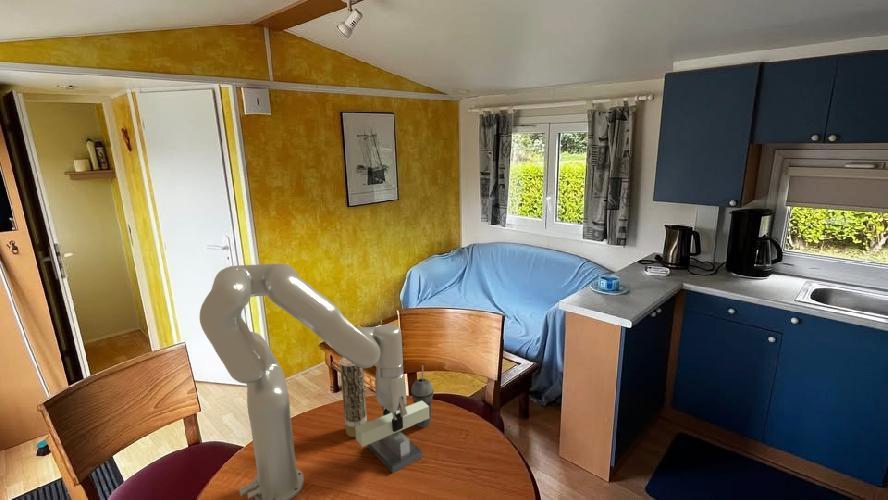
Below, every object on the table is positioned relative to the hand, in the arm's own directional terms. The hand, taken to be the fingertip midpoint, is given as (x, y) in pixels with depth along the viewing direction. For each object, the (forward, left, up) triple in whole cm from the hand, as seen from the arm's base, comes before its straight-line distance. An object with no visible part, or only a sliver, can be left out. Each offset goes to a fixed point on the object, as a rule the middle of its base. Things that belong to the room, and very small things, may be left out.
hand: (393, 425), depth 127 cm
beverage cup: (+15, +6, -9) cm, 18 cm away
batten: (0, 0, -1) cm, 1 cm away
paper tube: (-4, +16, -9) cm, 19 cm away
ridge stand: (0, 0, -9) cm, 9 cm away
